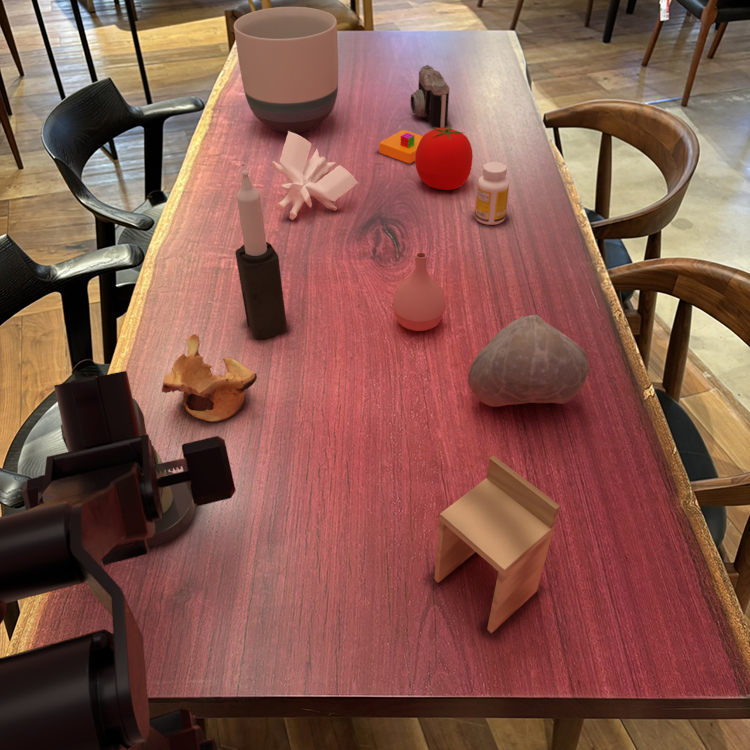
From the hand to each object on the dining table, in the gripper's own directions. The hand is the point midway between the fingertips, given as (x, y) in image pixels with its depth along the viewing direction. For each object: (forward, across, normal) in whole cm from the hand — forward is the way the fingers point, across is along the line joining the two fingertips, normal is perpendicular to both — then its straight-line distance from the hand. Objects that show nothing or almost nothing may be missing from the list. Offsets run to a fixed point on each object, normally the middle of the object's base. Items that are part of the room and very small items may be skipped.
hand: (142, 481), depth 77 cm
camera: (+70, -67, -61) cm, 114 cm away
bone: (+16, -9, -7) cm, 20 cm away
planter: (+72, -38, -64) cm, 104 cm away
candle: (+25, -19, -17) cm, 36 cm away
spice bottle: (+4, 0, +3) cm, 4 cm away
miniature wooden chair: (-9, -32, +18) cm, 38 cm away
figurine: (+49, -33, -40) cm, 71 cm away
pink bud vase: (+21, -40, -12) cm, 47 cm away
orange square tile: (+59, -57, -50) cm, 96 cm away
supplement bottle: (+38, -62, -29) cm, 79 cm away
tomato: (+48, -59, -39) cm, 86 cm away
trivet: (+5, 0, +4) cm, 6 cm away
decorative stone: (+7, -47, +2) cm, 48 cm away
